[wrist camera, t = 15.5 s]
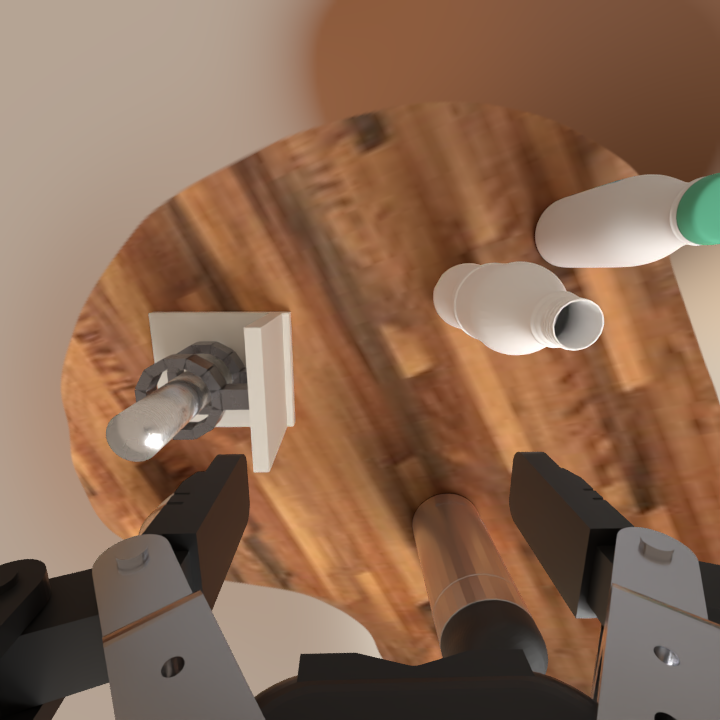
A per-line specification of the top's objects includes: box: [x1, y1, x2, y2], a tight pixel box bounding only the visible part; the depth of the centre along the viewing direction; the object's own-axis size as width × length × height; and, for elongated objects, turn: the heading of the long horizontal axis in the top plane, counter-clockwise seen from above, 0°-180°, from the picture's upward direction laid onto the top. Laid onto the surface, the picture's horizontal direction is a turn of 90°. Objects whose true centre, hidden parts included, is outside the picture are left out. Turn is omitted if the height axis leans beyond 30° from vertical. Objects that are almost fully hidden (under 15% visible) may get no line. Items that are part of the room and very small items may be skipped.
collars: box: [135, 341, 249, 440], centre depth 41 cm, size 8×11×8 cm
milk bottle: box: [535, 173, 720, 268], centre depth 35 cm, size 8×8×20 cm
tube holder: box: [148, 312, 295, 472], centre depth 42 cm, size 14×16×12 cm
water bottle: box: [433, 262, 604, 355], centre depth 34 cm, size 7×7×25 cm
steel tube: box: [106, 356, 232, 462], centre depth 37 cm, size 4×4×18 cm
